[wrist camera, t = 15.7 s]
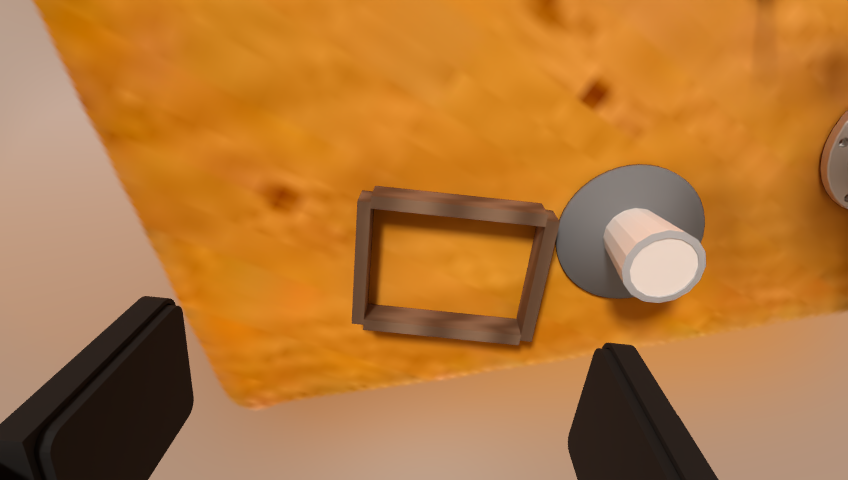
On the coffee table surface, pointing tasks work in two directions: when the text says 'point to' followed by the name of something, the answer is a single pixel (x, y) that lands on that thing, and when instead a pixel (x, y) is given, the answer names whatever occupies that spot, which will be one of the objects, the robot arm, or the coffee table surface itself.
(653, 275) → the white cylinder
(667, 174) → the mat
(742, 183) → the coffee table surface
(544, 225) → the brown rectangular frame
